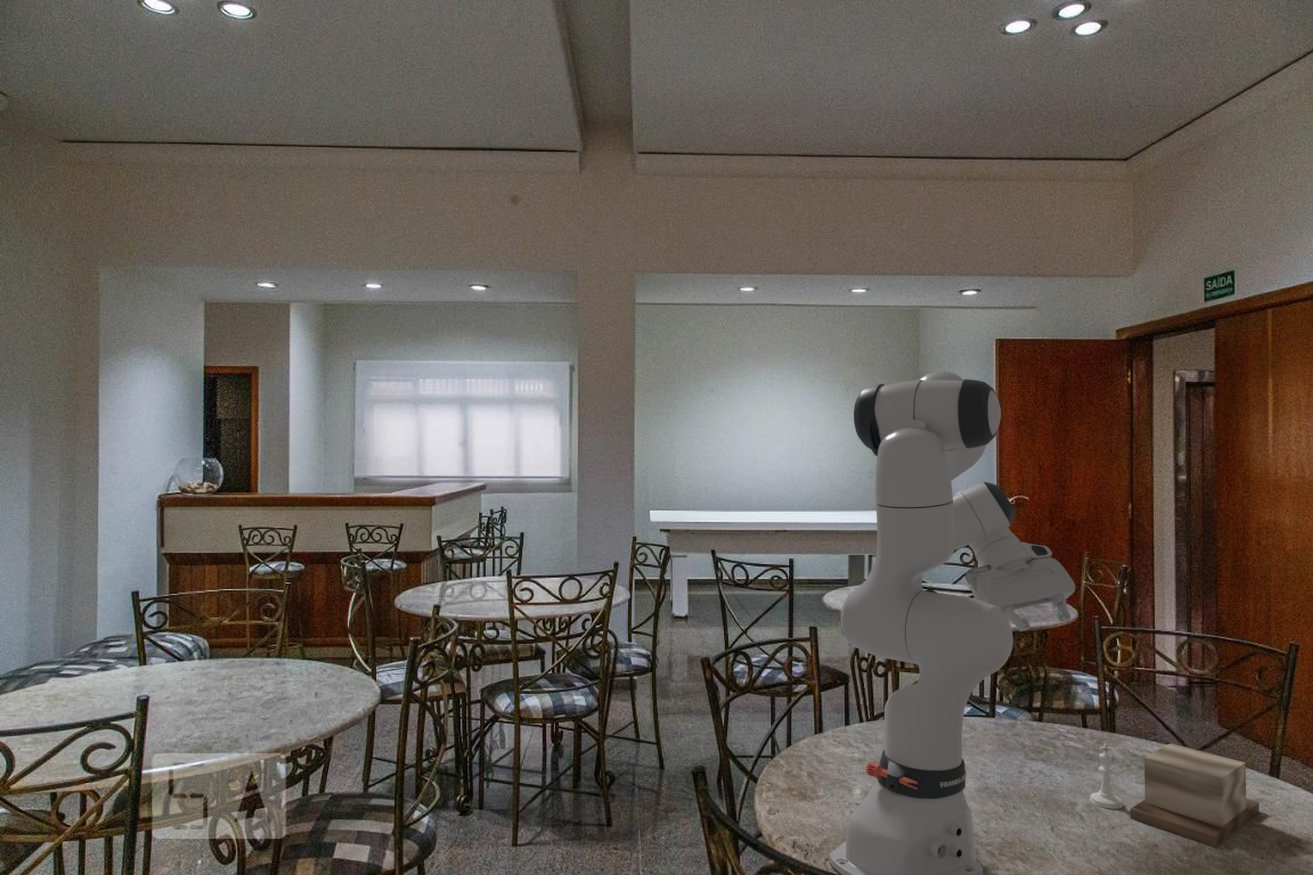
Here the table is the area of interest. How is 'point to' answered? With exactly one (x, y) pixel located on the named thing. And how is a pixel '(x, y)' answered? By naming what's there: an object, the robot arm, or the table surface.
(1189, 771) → the walnut base
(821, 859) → the table surface
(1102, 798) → the chess piece
